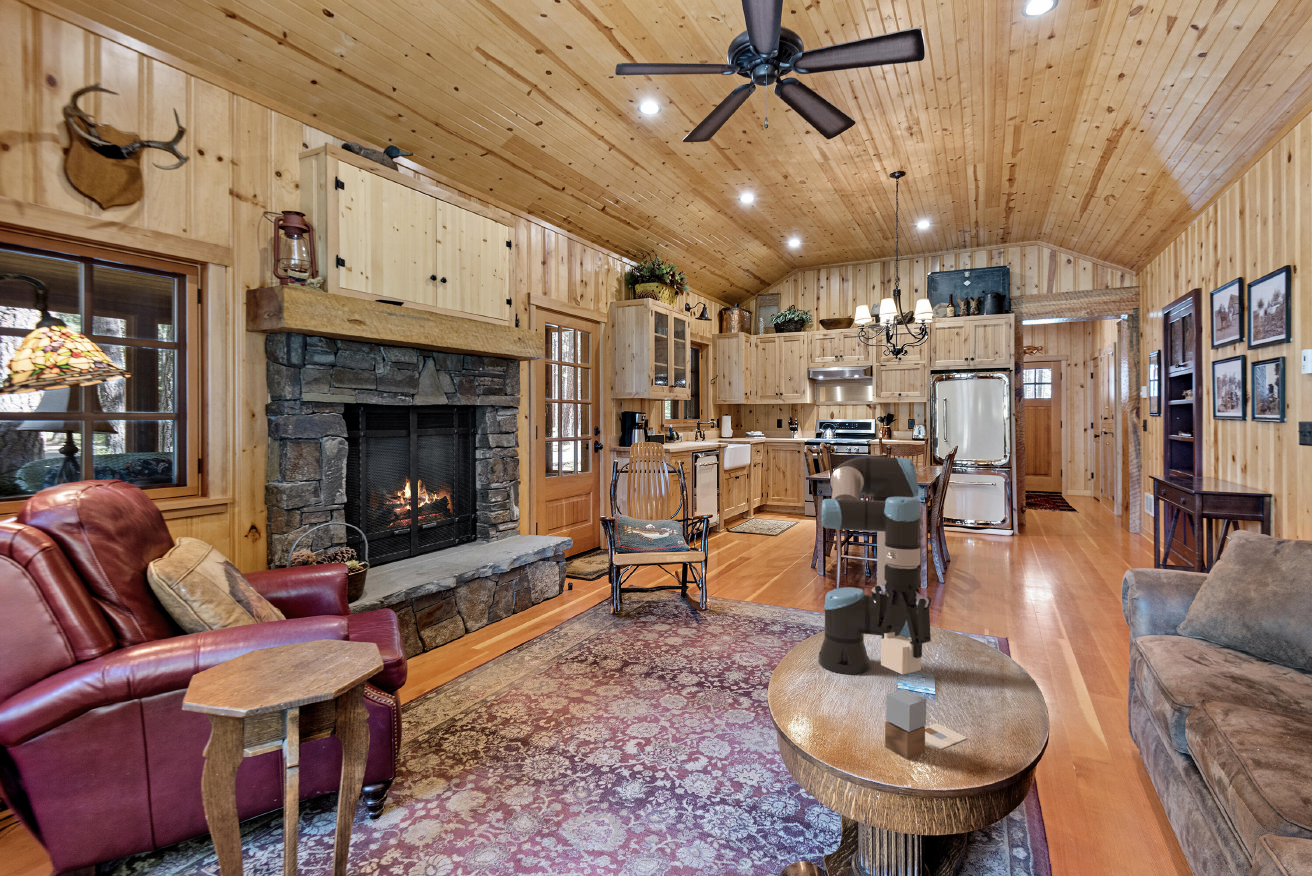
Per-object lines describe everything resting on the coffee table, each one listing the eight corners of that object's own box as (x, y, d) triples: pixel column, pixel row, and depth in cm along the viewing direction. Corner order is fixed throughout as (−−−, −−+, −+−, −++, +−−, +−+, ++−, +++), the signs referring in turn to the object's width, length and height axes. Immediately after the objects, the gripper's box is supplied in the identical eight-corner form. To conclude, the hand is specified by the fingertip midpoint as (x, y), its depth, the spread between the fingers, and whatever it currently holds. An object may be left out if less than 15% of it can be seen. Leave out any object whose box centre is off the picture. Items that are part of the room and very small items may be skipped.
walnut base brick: (885, 747, 137) (885, 719, 137) (902, 740, 140) (902, 713, 140) (907, 760, 132) (907, 731, 132) (924, 753, 135) (925, 724, 135)
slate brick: (886, 720, 137) (886, 694, 137) (902, 713, 140) (903, 688, 140) (909, 732, 132) (909, 705, 132) (925, 725, 135) (926, 699, 135)
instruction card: (910, 734, 143) (910, 732, 143) (936, 723, 148) (936, 722, 148) (940, 749, 136) (940, 748, 136) (967, 738, 141) (967, 737, 141)
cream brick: (880, 664, 137) (881, 639, 137) (899, 660, 140) (899, 635, 140) (902, 674, 132) (902, 647, 132) (920, 669, 135) (921, 643, 135)
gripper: (858, 558, 143) (857, 654, 143) (927, 576, 126) (926, 684, 126) (880, 555, 146) (879, 649, 146) (950, 572, 129) (949, 677, 130)
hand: (901, 665), depth 136 cm, fingers closed on cream brick, 6 cm apart
